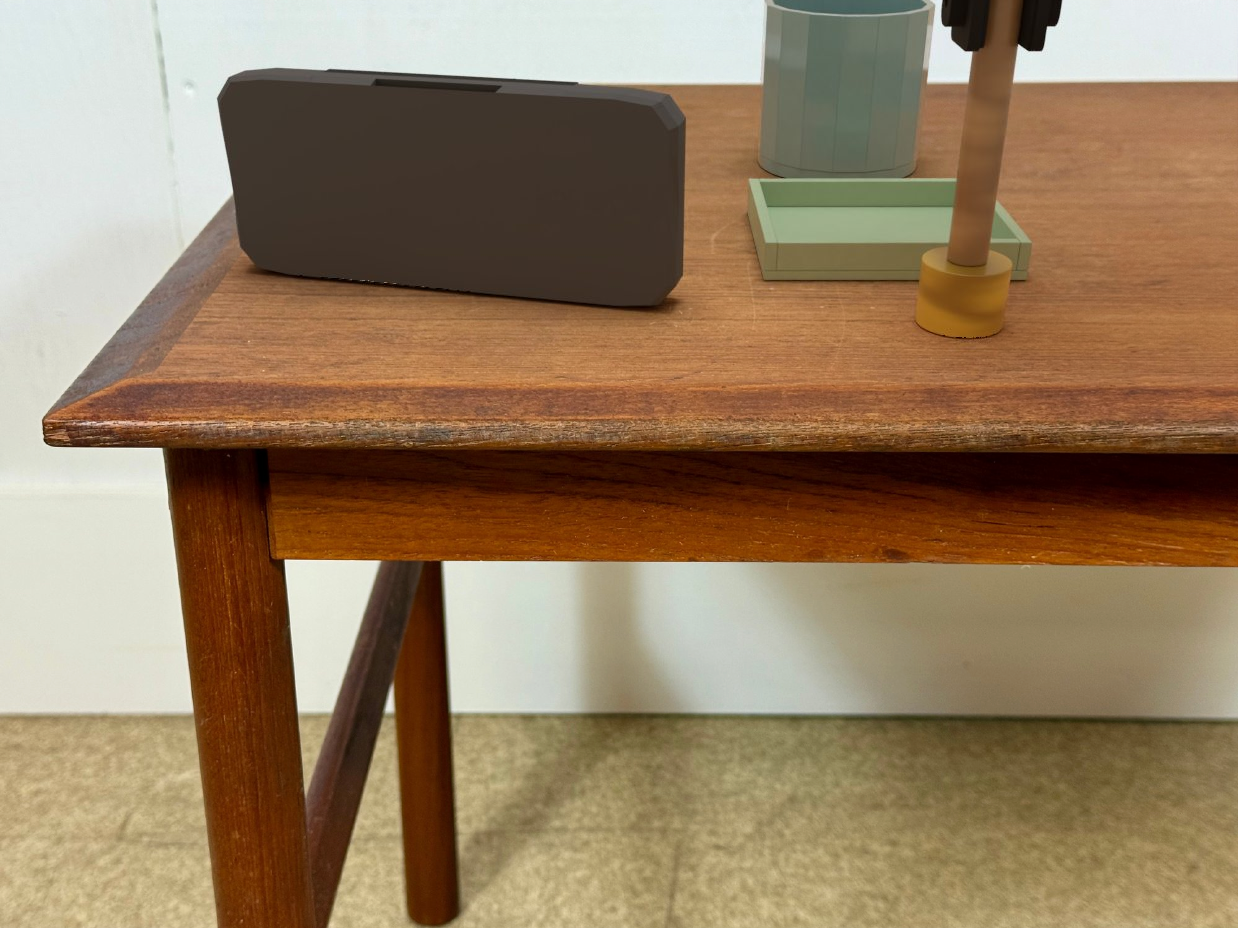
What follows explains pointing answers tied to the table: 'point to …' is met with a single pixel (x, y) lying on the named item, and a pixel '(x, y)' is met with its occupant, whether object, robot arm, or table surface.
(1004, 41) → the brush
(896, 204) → the tray
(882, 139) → the crock
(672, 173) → the chamfered brown slab
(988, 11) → the robot arm
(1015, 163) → the table surface
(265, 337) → the table surface
